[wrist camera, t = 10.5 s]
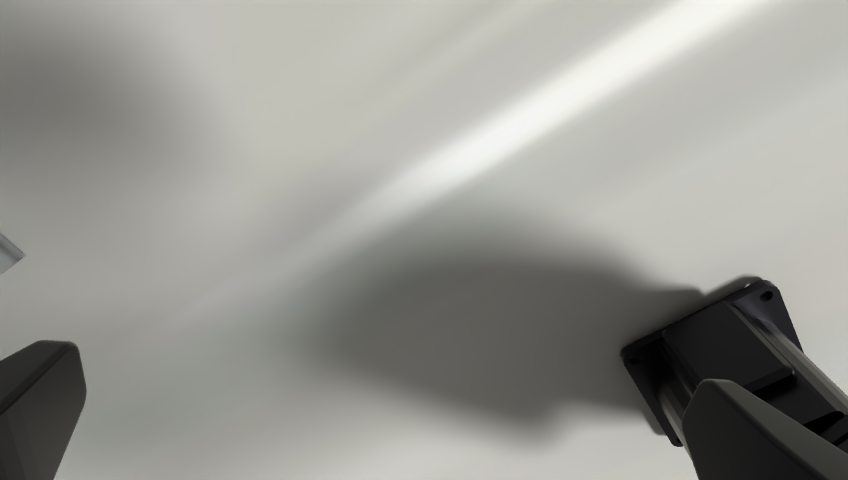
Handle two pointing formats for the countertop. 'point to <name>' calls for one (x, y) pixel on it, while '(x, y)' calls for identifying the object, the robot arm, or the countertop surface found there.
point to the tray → (8, 254)
